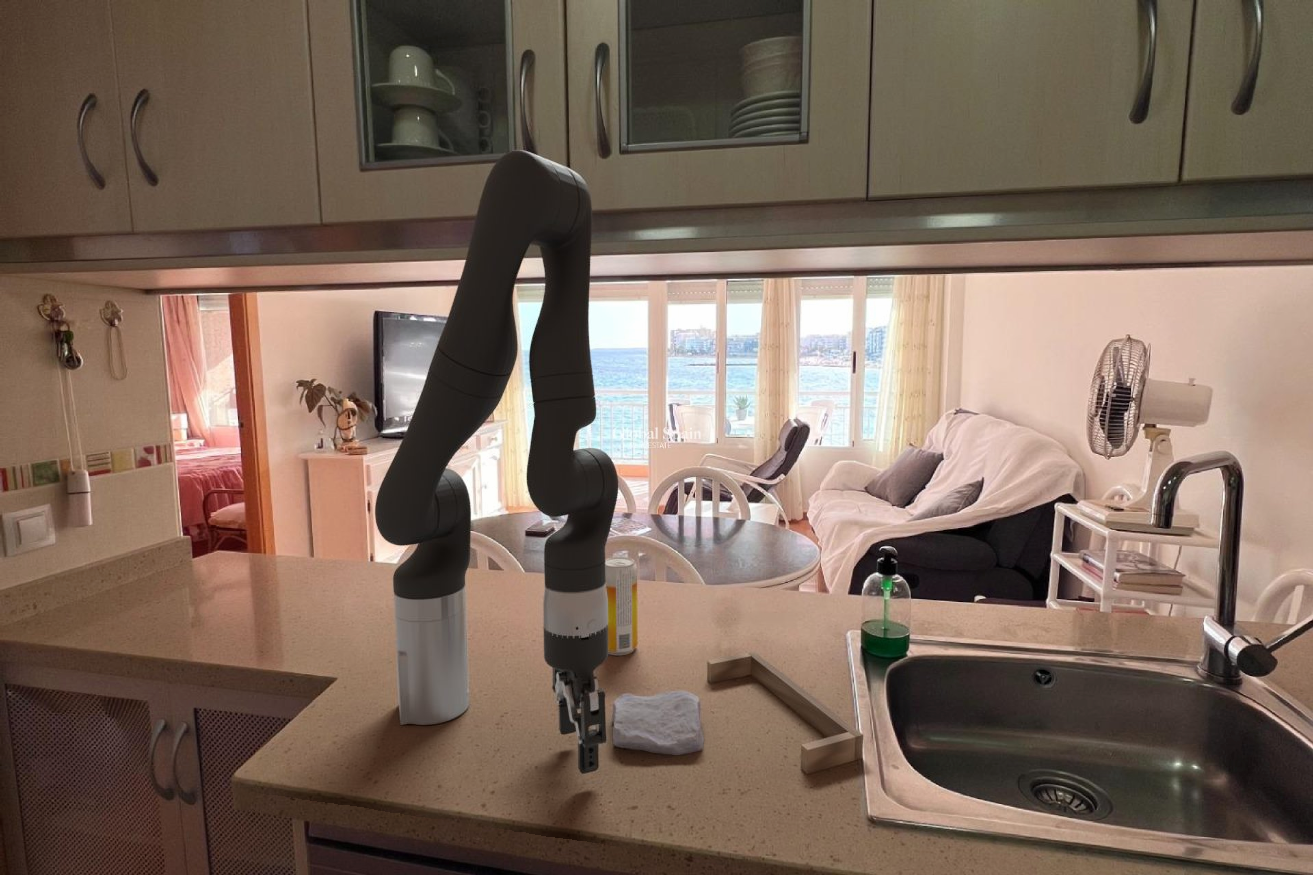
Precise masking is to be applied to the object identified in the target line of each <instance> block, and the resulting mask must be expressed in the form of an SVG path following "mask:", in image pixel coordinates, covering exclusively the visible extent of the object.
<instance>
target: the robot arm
mask: <svg viewBox="0 0 1313 875" xmlns="http://www.w3.org/2000/svg"><path fill="white" fill-rule="evenodd" d="M590 192H591V191H590V189H589V187H588V185H587V183H586V181H585V179H584V178H583V177H582V176H581V174H579V173H578V172H576V171H574V170H573V169H571V168H569V167H567V166H565V165H563V164H560V163H557V162H555V161H553V160H550V159H548V158H545V157H543V156H540V155H537V154H535V153H532V152H530V151H526V150H523V149H514V150H511V151H509V152H507V153H505V154H503V155H502V156H501V157H500V158H499V159H498V160H497V161H496V162H495V163H494V165H493V167H492V169H491V170H490V172H489V174H488V176H487V178H486V181H485V183H484V187H483V190H482V193H481V196H480V200H479V202H478V203H479V204H478V208H477V212H476V215H475V220H474V225H473V229H472V233H471V238H470V243H469V244H468V250H467V253H466V256H465V257H466V258H465V262H464V264H463V265H464V266H463V269H462V272H461V275H460V279H459V281H458V284H457V288H456V291H455V294H454V296H453V301H452V303H451V307H450V309H449V313H448V316H447V319H446V322H445V324H444V327H443V330H442V332H441V334H440V337H439V339H438V341H437V343H436V344H437V345H436V348H435V350H434V352H433V356H432V359H431V362H430V365H429V367H428V372H427V374H426V376H425V377H426V379H425V381H424V384H423V387H422V390H421V393H420V396H419V398H418V400H417V402H416V405H415V409H414V411H413V412H412V413H413V414H412V417H411V418H410V421H409V424H408V426H407V428H406V432H405V434H404V436H403V437H402V440H401V443H400V445H399V446H398V449H397V450H396V453H395V455H394V458H392V461H391V463H390V465H389V467H388V468H387V471H386V473H385V475H384V477H383V479H382V481H381V484H380V486H379V489H378V493H377V494H376V499H375V506H374V517H375V524H376V527H377V530H378V532H379V533H380V535H381V537H382V538H383V540H385V541H386V542H387V543H389V544H391V545H395V546H399V547H401V546H402V547H403V546H404V547H405V546H413V545H417V546H416V547H415V549H414V551H413V552H412V553H411V555H409V556H408V557H407V558H406V560H405V561H403V562H402V563H401V564H400V565H399V566H398V567H397V568H396V569H395V571H394V572H393V577H392V583H393V584H392V586H393V587H392V588H393V598H394V599H393V601H394V603H393V604H394V622H395V623H394V624H395V626H394V627H395V654H396V655H395V656H396V660H395V661H396V677H397V679H396V680H397V696H398V697H397V698H398V701H397V702H398V710H399V711H398V712H399V724H400V725H402V726H403V725H407V724H410V725H411V724H413V725H417V726H418V725H419V726H427V725H428V726H429V725H436V724H441V723H445V722H448V721H451V720H453V719H455V718H457V717H459V716H461V715H462V714H463V713H464V712H466V711H467V709H468V708H469V706H470V685H469V684H470V683H469V682H470V680H469V679H470V678H469V676H470V675H469V656H468V654H469V651H468V625H467V623H468V622H467V595H466V594H467V592H466V573H467V570H468V568H469V565H470V561H471V538H472V537H471V534H472V533H471V530H472V509H471V508H472V507H471V505H472V504H471V499H470V494H469V491H468V487H467V485H466V483H465V481H464V479H463V477H462V476H461V475H460V474H459V473H458V472H457V471H455V470H453V469H450V468H447V466H448V465H449V463H450V462H451V460H452V459H453V457H454V456H455V454H457V453H458V451H459V450H460V449H461V448H462V447H463V446H464V445H465V443H467V441H468V440H470V438H471V437H472V436H473V435H474V434H476V432H478V430H479V429H480V428H481V427H482V426H483V425H484V424H485V423H486V421H487V420H488V419H489V418H490V416H492V414H493V413H494V411H495V410H496V408H497V407H498V405H499V404H500V402H501V400H502V398H503V395H504V394H505V391H506V389H507V385H508V382H509V380H510V378H511V375H512V373H513V371H514V367H515V364H516V362H517V358H518V349H519V348H518V346H519V344H518V343H519V342H518V333H517V332H518V331H517V326H516V324H517V323H516V319H515V312H514V292H515V291H514V290H515V287H516V286H515V285H516V281H517V278H518V275H519V272H520V269H521V266H522V262H523V261H524V258H525V256H526V253H527V251H528V249H529V247H530V245H533V246H537V247H539V249H540V254H541V259H542V263H543V264H542V265H543V270H544V291H543V300H542V303H541V307H540V310H539V315H538V317H537V320H536V324H535V326H534V330H533V332H532V337H531V340H530V346H529V354H528V370H529V379H530V387H531V393H532V394H531V396H532V403H533V404H532V406H533V413H534V414H533V415H534V416H533V423H532V430H531V434H530V435H531V436H530V443H529V444H530V445H529V450H528V457H527V465H526V485H527V491H528V494H529V497H530V499H531V501H532V503H533V505H534V506H535V508H536V509H537V510H538V511H539V512H541V513H542V514H543V515H546V516H548V517H552V518H553V517H554V518H559V517H564V516H567V518H566V521H565V523H564V524H563V526H562V527H561V528H559V529H558V530H556V531H555V532H553V533H552V534H551V535H550V536H548V538H546V540H545V542H544V548H543V549H544V550H543V552H544V553H543V562H544V563H543V566H544V568H543V569H544V570H543V572H544V591H543V600H542V601H543V602H542V616H543V617H542V620H543V623H542V624H543V657H544V658H543V659H544V661H545V663H546V664H547V665H548V666H549V667H551V668H552V686H551V689H552V691H553V693H555V694H556V695H555V702H556V703H557V705H558V730H559V732H560V734H561V735H562V736H563V735H564V736H565V735H568V734H574V733H576V740H577V765H578V766H577V768H578V770H579V772H580V774H583V775H584V774H589V773H592V772H593V773H594V772H596V771H597V770H598V769H599V767H600V766H599V764H600V763H599V745H601V744H605V743H606V742H607V728H606V727H607V726H606V724H607V723H606V721H607V720H606V692H605V691H604V689H603V688H602V689H599V681H598V677H597V676H596V675H595V674H594V671H595V670H596V669H597V668H598V667H599V666H601V665H603V664H604V663H605V662H606V661H607V659H608V657H609V654H608V653H609V652H608V597H607V591H606V577H605V559H606V545H607V541H608V538H609V535H610V531H611V527H612V523H613V518H614V514H615V509H616V504H617V501H618V494H619V477H618V473H617V472H618V471H617V469H616V466H615V463H614V462H613V460H612V458H611V457H610V456H609V454H607V452H606V451H603V450H602V449H599V448H596V447H586V448H579V449H574V448H575V443H576V438H577V437H576V436H577V433H578V432H579V431H580V430H581V429H583V428H585V427H587V426H590V425H591V424H592V423H594V421H595V420H596V416H597V403H596V393H595V385H594V375H593V367H592V358H591V344H590V329H589V328H590V326H589V323H590V322H589V321H590V320H589V319H590V318H589V314H590V312H589V311H590V310H589V308H590V289H591V288H590V286H591V285H590V283H591V282H590V281H591V256H592V255H591V254H592V238H593V236H592V235H593V208H592V207H593V206H592V198H591V193H590ZM578 710H580V712H578ZM591 726H592V729H590V727H591Z"/></svg>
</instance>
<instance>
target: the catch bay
mask: <svg viewBox="0 0 1313 875" xmlns="http://www.w3.org/2000/svg"><path fill="white" fill-rule="evenodd" d="M706 666H707V667H706V670H707V671H706V672H707V673H706V679H707V680H706V681H708V683H710V684H714V683H718V682H723V681H728V680H732V679H733V680H734V679H737V678H741V677H746V676H752V677H753V678H754V679H755V680H757V681H758V682H759V683H760V684H761V685H763V686H764V687H765V688H766V689H767V690H769V691H770V692H771V693H772V694H773V695H775V696H776V697H777V698H778V699H779V700H781V701H782V702H783V703H784V704H786V705H787V706H788V707H789V708H791V710H793V711H794V712H795V713H796V714H798V715H799V716H800V717H802V719H804V720H805V721H806V722H807V723H808V724H810V725H811V726H812V727H814V728H815V729H816V730H817V731H818V732H820V733H821V734H822V735H823V736H824V738H821V739H818V740H813V741H810V742H806V743H803V744H800V745H801V746H800V770H802V771H803V773H804V774H806V775H809V774H813V773H816V772H819V771H823V770H826V769H830V768H833V767H837V766H840V765H843V764H847V763H850V762H853V761H857V760H861V759H863V754H864V752H863V750H864V734H863V733H862V732H861V731H859V730H858V729H856V728H855V727H854V726H853V725H851V724H850V723H848V722H847V721H846V720H844V719H843V718H842V717H841V716H839V715H838V714H837V713H835V712H834V711H833V710H831V709H830V708H829V707H827V706H826V705H825V704H823V702H821V701H819V700H818V698H815V697H814V696H813V695H812V694H810V693H809V692H808V691H806V690H805V689H803V687H801V686H800V685H798V684H797V682H795V681H793V680H792V679H791V678H789V677H788V676H787V675H785V674H784V673H783V672H782V671H780V670H779V669H777V668H776V667H775V666H774V665H772V664H771V663H770V662H768V661H767V660H766V659H764V658H763V657H762V656H760V654H758V653H756V652H755V651H750V652H745V653H739V654H734V655H729V656H724V657H719V658H715V659H713V658H712V659H710V660H707V663H706Z"/></svg>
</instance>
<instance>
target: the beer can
mask: <svg viewBox="0 0 1313 875" xmlns="http://www.w3.org/2000/svg"><path fill="white" fill-rule="evenodd" d="M605 577H606V591H607V597H608V652H609V653H608V655H612V656H626V655H629V654H632V653H633V652H634V650H635V649H636V648H637V647H638V567H637V564H636V562H635V560H634V559H633V558H631V557H625V556H614V557H608V558H605Z"/></svg>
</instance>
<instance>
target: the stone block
mask: <svg viewBox="0 0 1313 875" xmlns="http://www.w3.org/2000/svg"><path fill="white" fill-rule="evenodd" d="M701 711H702V708H701V700H700V697H698V696H697V695H695V694H694V693H691V692H689V691H686V690H672V691H663V692H661V693H658V694H655V695H651V696H644V695H643V696H642V695H641V696H639V695H634V694H633V693H630V692H629V693H627V692H626V693H623V694H621V695H620V696H619V697H617V698H616V699H615V701H614V702H613V704H612V718H611V720H612V723H613V728H612V743H613V746H614V747H618V748H621V749H629V750H636V751H645V752H650V753H654V754H662V755H674V756H682V755H685V754H690V753H695V752H699V751H701V750H703V748H704V743H705V738H704V734H703V731H702V724H701V720H700V719H701Z"/></svg>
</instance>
